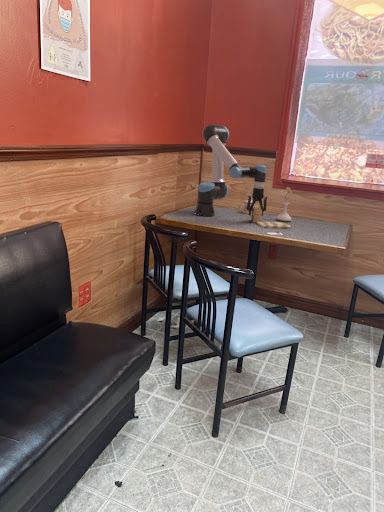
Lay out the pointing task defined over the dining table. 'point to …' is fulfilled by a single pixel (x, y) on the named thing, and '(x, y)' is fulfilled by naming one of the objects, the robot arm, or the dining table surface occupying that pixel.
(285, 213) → the flower in vase
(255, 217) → the block
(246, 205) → the teacup with lid
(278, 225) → the board
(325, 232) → the dining table surface
